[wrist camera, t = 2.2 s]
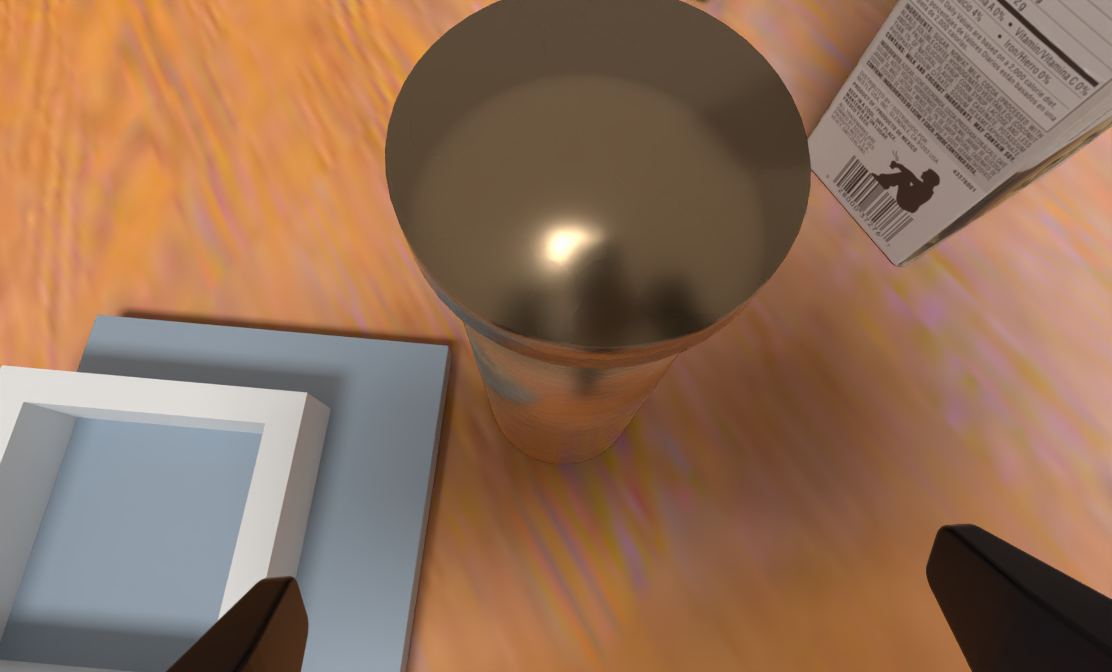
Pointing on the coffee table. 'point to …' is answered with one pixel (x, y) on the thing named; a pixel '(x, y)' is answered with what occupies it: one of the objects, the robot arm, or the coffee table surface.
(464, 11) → the coffee table surface
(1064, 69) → the cookie box
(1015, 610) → the robot arm
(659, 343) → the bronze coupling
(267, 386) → the collar plate
